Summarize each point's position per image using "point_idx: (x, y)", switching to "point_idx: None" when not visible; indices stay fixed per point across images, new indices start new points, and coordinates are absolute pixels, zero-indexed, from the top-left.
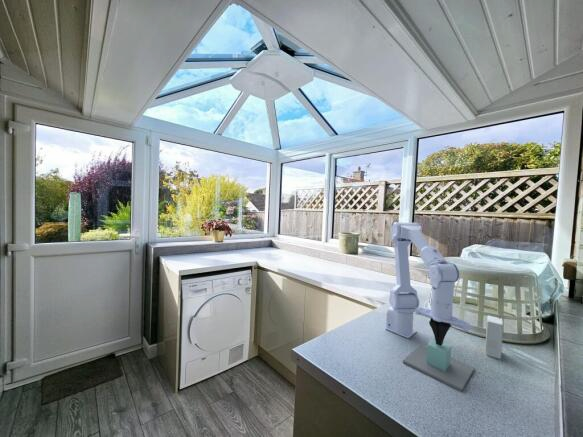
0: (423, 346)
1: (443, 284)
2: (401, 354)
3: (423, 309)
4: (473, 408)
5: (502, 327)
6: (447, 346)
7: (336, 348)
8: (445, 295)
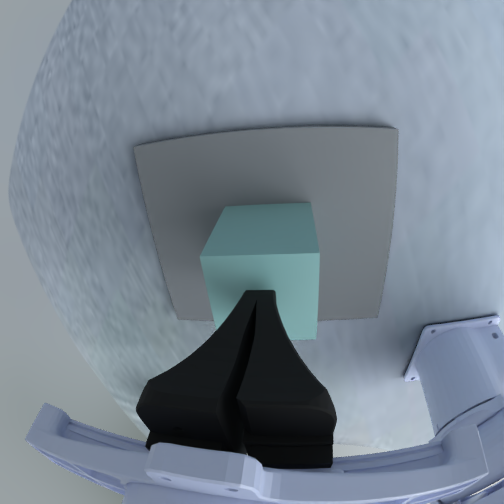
0: (363, 315)
1: None
2: (422, 192)
3: (413, 499)
4: (87, 97)
5: None
6: None
7: None
8: None
